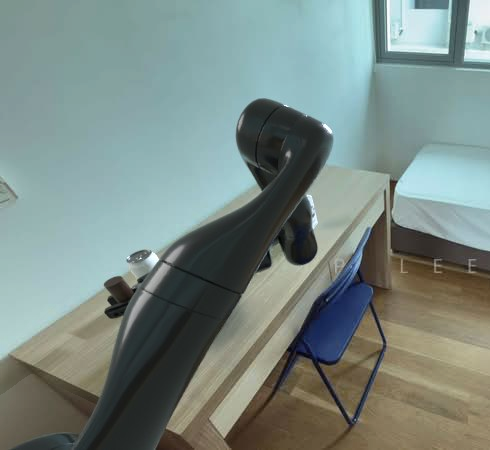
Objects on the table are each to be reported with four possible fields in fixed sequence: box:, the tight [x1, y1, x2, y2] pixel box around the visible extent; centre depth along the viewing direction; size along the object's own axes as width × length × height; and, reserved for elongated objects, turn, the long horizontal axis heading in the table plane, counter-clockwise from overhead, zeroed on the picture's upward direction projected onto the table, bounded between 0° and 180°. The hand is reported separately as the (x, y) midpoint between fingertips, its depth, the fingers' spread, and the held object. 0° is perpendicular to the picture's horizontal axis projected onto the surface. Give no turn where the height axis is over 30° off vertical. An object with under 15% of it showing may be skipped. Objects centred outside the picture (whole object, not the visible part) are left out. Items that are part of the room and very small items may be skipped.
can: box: [126, 248, 160, 280], centre depth 85 cm, size 6×6×12 cm
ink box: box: [306, 194, 319, 230], centre depth 108 cm, size 9×5×12 cm, turn 78°
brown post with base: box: [103, 275, 134, 303], centre depth 57 cm, size 5×5×15 cm
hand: (109, 308), depth 54 cm, fingers closed on brown post with base, 2 cm apart
